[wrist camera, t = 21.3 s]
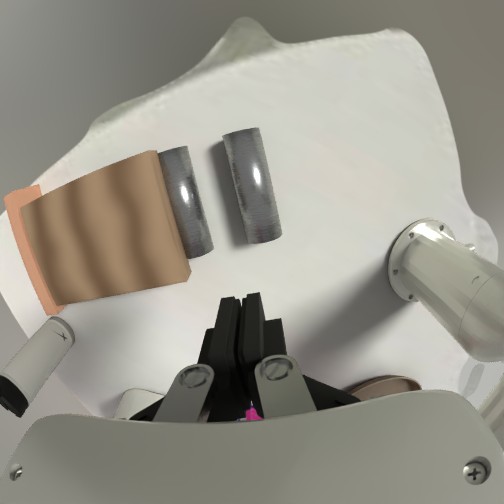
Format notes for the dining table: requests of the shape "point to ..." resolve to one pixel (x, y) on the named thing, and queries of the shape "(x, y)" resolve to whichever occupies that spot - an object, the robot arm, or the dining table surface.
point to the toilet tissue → (135, 402)
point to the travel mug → (34, 365)
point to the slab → (107, 233)
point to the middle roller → (185, 201)
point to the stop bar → (29, 245)
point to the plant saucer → (385, 387)
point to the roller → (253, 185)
